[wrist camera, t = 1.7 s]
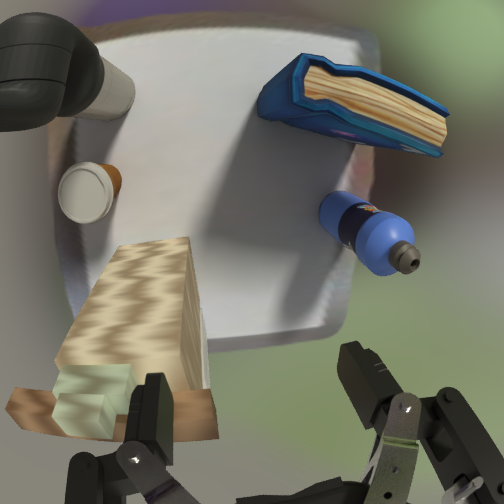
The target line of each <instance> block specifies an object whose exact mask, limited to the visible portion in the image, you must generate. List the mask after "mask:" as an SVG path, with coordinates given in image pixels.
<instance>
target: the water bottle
mask: <svg viewBox="0 0 504 504" xmlns="http://www.w3.org/2000/svg"><path fill="white" fill-rule="evenodd" d="M319 221H320V224H321V226H322V227H323V228H324V229H325V230H326V231H327V232H328V233H330V234H331V235H332V236H333V237H334V238H335V239H337V240H338V241H339V242H340V243H341V244H343V245H344V246H345V247H346V248H348V249H351V250H353V251H354V253H355V254H356V255H357V257H358V259H359V260H360V261H361V263H363V264H364V265H365V266H366V267H367V268H368V269H369V270H371V272H373V273H374V274H376V275H379V276H387V275H391V274H394V273H396V272H397V271H399V272H401V273H403V274H410V273H412V272H413V271H415V270H416V269H417V268H418V267H419V264H420V252H419V250H418V249H416V248H415V247H414V232H413V229H412V227H411V225H410V224H409V223H408V222H407V221H406V220H404V219H402V218H400V217H398V216H396V215H394V214H392V213H390V212H383V211H380V210H378V209H377V208H375V207H374V206H373V205H372V204H370V203H369V202H367V201H365V200H363V199H361V198H358V197H356V196H354V195H352V194H350V193H348V192H345V191H336V192H333V193H331V194H329V195H328V196H327V197H326V198H325V199H324V200H323V201H322V203H321V205H320V208H319Z"/></svg>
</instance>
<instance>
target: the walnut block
mask: <svg viewBox="0 0 504 504" xmlns="http://www.w3.org/2000/svg"><path fill="white" fill-rule="evenodd" d="M172 395H173V400H174V421H173V442H187V441H201V440H212V439H219V433H218V424H217V415H216V408H215V405H214V401H213V397H212V394H211V390H210V388H209V389H200V390H189V391H177V392H172ZM56 402H57V399H56V397H55V396H54V394H53V393H52V391H42V390H32V389H24V388H17V387H15V389H14V391H13V393H12V395H11V397H10V399H9V401H8V404H7V406H6V408H5V410H6V411H7V412H8V414H9V415H10V416H11V417H12V418H13V419H14V420H15V422H16V423H17V424H18V425H19V426H20V428H21V429H25V430H29V431H34V432H39V433H44V434H50V435H56V436H63V437H69V438H77V439H86V440H97V441H110V442H124V437H125V430H126V423H127V417H128V414H117V415H116V420H115V426H114V432H113V438H112V439H99V438H88V437H78V436H70V435H67V434H66V433H65V432H64V431H63V430H62V429H61V427H60V426H59V425H58V424H57V423H56V421H55V420H54V419H53V418H52V417H51V416H52V413H53V410H54V408H55V405H56Z"/></svg>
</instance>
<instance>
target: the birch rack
mask: <svg viewBox="0 0 504 504" xmlns="http://www.w3.org/2000/svg"><path fill="white" fill-rule="evenodd" d="M54 362H55V363H56V365H57V367H58V368H59V370H60V374H59V376H58V379H57V381H56V383H55V386H54V389H53V391H52V393H53V394H54V396H55V397H56V399H57V402H56V405H55V408H54V410H53V413H52V416H51V417H52V418H53V419H54V420H55V421H56V423H57V424H58V425H59V426H60V427H61V429H62V430H63V431H64V432H65V433H66V434H67V435H70V436H78V437H88V438H99V439H112V438H113V432H114V426H115V420H116V415H117V414H128V413H129V411H128V410H129V405H130V399H131V393H132V392H133V390H134V389H135V387H136V386H137V385H144V384H145V378H146V374H147V373H157V372H163V373H164V374H165V377H166V379H167V382H168V385H169V387H170V390H171V392H177V391H189V390H200V389H203V381H202V361H201V333H200V299H199V293H198V288H197V282H196V276H195V270H194V264H193V258H192V252H191V246H190V239H189V237H183V238H176V239H168V240H161V241H153V242H146V243H139V244H132V245H125V246H119V247H118V249H117V251H116V252H115V254H114V255H113V257H112V258H111V260H110V261H109V263H108V265H107V266H106V268H105V269H104V271H103V273H102V274H101V276H100V277H99V279H98V281H97V282H96V284H95V286H94V287H93V289H92V291H91V293H90V294H89V296H88V298H87V299H86V301H85V303H84V305H83V306H82V308H81V310H80V312H79V314H78V315H77V317H76V319H75V321H74V323H73V325H72V327H71V328H70V330H69V332H68V334H67V336H66V338H65V340H64V342H63V344H62V346H61V348H60V350H59V352H58V354H57V356H56V358H55V361H54Z"/></svg>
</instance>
